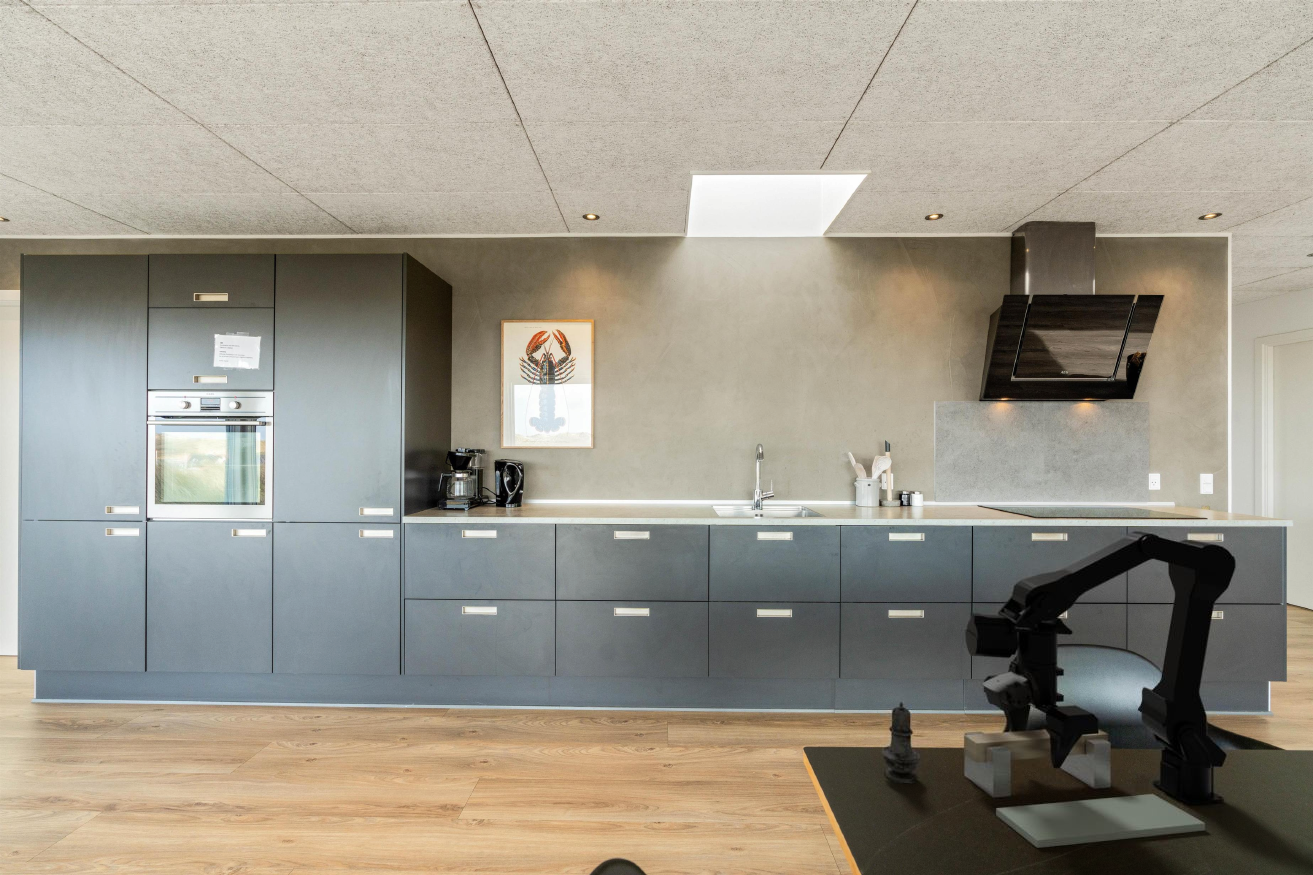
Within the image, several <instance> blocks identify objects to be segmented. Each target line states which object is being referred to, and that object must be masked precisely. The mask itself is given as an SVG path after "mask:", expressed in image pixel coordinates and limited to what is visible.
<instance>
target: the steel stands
mask: <svg viewBox="0 0 1313 875" xmlns="http://www.w3.org/2000/svg"><path fill="white" fill-rule="evenodd" d="M974 734H985V733H984V732H983V731H971V732H969V731H968V732H967V731H966V732H964V735H974ZM1111 745H1112V744H1111V742H1110V741H1109V740H1108V741H1106V740H1104V739H1090V740H1086V754H1083V755H1070V756H1067V758H1066V759H1065V761H1064V763H1063V764H1062V766H1061V767H1060V768H1059V769H1062V770H1063V771H1065V772H1066V773H1068V774H1070V775H1071V776H1073V777H1074V778H1076V779H1078V780H1080V781H1081V782H1083V783H1084V784H1086V785H1088V786H1089V787H1091V788H1092V789H1096V790H1097V789H1105V788H1106V789H1107V788H1111V778H1112V777H1111V771H1112V770H1111V767H1112V766H1111V760H1112V759H1111V758H1112V757H1111V751H1112V750H1111ZM1011 763H1012V760H1011V750H1009V749H1008V748H1006V747H1005V746H993V747H986V762H979V763H976V762H975V761H973V760H972V759H970V758H969V757H968V756H966V755H965V754H964V777H966V778H967V779H968V780H970V781H971V782H972V783H973V784H974V785H976V786H977V787H978V788H979V789H981V790H983V791H984V792H985V793H987V795H989V796H991V797H992V798H1001V797H1011V794H1012V793H1011V789H1012V788H1011V778H1012V777H1011V776H1012V775H1011V771H1012V770H1011V766H1012V764H1011Z"/></svg>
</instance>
